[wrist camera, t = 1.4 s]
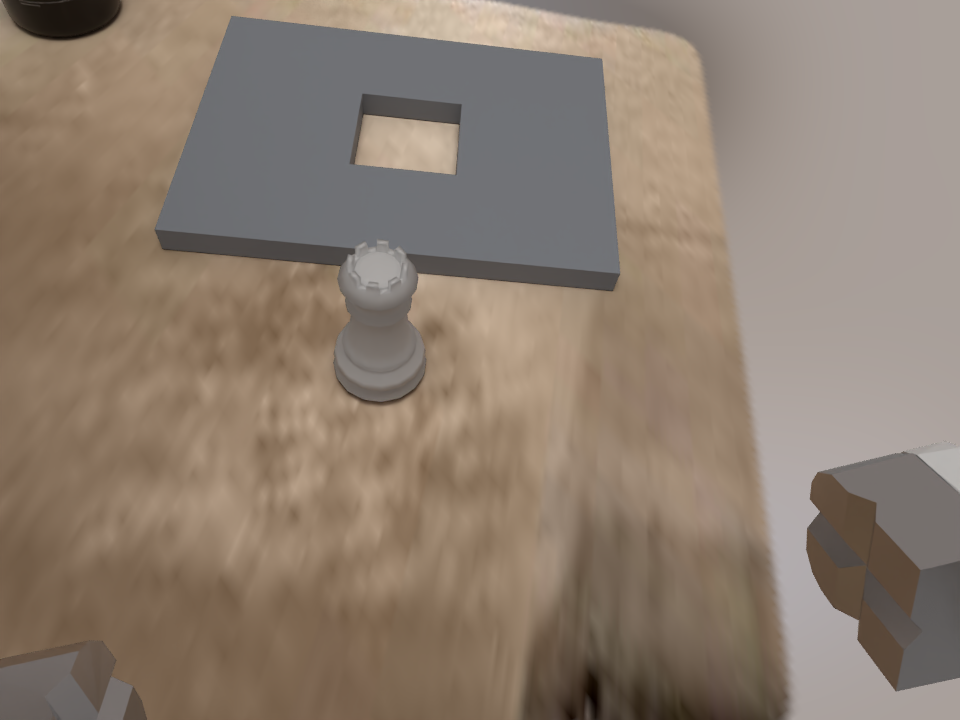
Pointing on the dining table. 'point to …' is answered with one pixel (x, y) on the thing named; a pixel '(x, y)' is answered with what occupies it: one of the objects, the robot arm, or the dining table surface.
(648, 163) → the dining table surface
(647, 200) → the dining table surface
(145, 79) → the dining table surface
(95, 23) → the supplement bottle
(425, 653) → the dining table surface
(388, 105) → the socket board
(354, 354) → the rook chess piece
